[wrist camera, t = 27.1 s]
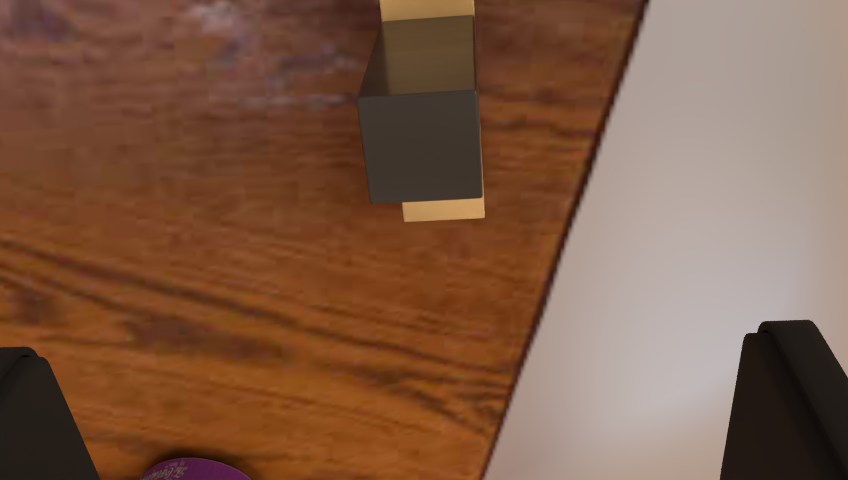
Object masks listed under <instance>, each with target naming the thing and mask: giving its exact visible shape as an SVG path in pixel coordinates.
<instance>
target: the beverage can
mask: <svg viewBox="0 0 848 480" xmlns="http://www.w3.org/2000/svg"><path fill="white" fill-rule="evenodd" d="M139 480H252V479H251V478H249V477H248V476H247V475H245V474H244V473H242V472H240V471H239V470H237V469H235V468H233V467H231V466H228V465H226V464H223V463H220V462H217V461H213V460H208V459H202V458H178V459H172V460H168V461H164V462H162V463H159V464H157V465H155V466H153V467H152V468H150V469H149V470H148V471H146V472H145V473H144V474H143V475H142V477H141V478H140V479H139Z"/></svg>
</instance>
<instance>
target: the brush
mask: <svg viewBox="0 0 848 480" xmlns="http://www.w3.org/2000/svg"><path fill="white" fill-rule="evenodd" d="M379 1H380V10H381V19H382V24H381V27H380V30H379V33H378V36H377V39H376V42H375V45H374V48H373V51H372V54H371V57H370V60H369V63H368V66H367V69H366V72H365V75H364V78H363V81H362V84H361V87H360V90H359V93H358V96H357V99H356V102H357V109H358V117H359V124H360V132H361V139H362V147H363V154H364V161H365V169H366V176H367V184H368V191H369V199H370V202H371V204H385V203H402V208H403V217H404V222H413V221H432V220H452V219H472V218H484V217H485V212H484V190H483V169H482V149H481V129H480V109H479V89H478V69H477V50H476V30H475V10H474V0H379Z"/></svg>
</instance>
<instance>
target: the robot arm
mask: <svg viewBox="0 0 848 480" xmlns="http://www.w3.org/2000/svg"><path fill="white" fill-rule="evenodd" d="M0 480H100V478H99V476H98V473H97V471H96V469H95V466H94V464H93V462H92V460H91V457H90V455H89V453H88V451H87V448H86V446H85V444H84V441H83V439H82V437H81V435H80V432H79V430H78V428H77V426H76V423H75V421H74V419H73V416H72V414H71V412H70V410H69V407H68V405H67V403H66V401H65V398H64V396H63V394H62V392H61V389H60V387H59V385H58V382H57V380H56V378H55V376H54V373H53V371H52V369H51V367H50V364H49V363H48V361H47V360H46V359H45V358H43V357H38V355H37V353H36V352H35V351H34V350H33V349H31V348H30V347H2V348H0ZM720 480H848V378H847V376H846V374H845V372H844V371H843V369H842V367H841V366H840V364H839V362H838V361H837V359H836V358H835V356H834V354H833V353H832V351H831V349H830V348H829V346H828V344H827V343H826V341H825V339H824V338H823V336H822V335H821V333H820V332H819V329H818V328H817V327H816V325H815V324H814V323H813V322H812V321H810V320H790V321H765V322H762V323H761V324H760V326H759V328H758V332H757V333H748V334H746V335H745V337H744V340H743V345H742V351H741V357H740V363H739V369H738V375H737V381H736V386H735V392H734V398H733V404H732V410H731V416H730V422H729V427H728V433H727V440H726V445H725V451H724V457H723V462H722V468H721V475H720Z"/></svg>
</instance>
